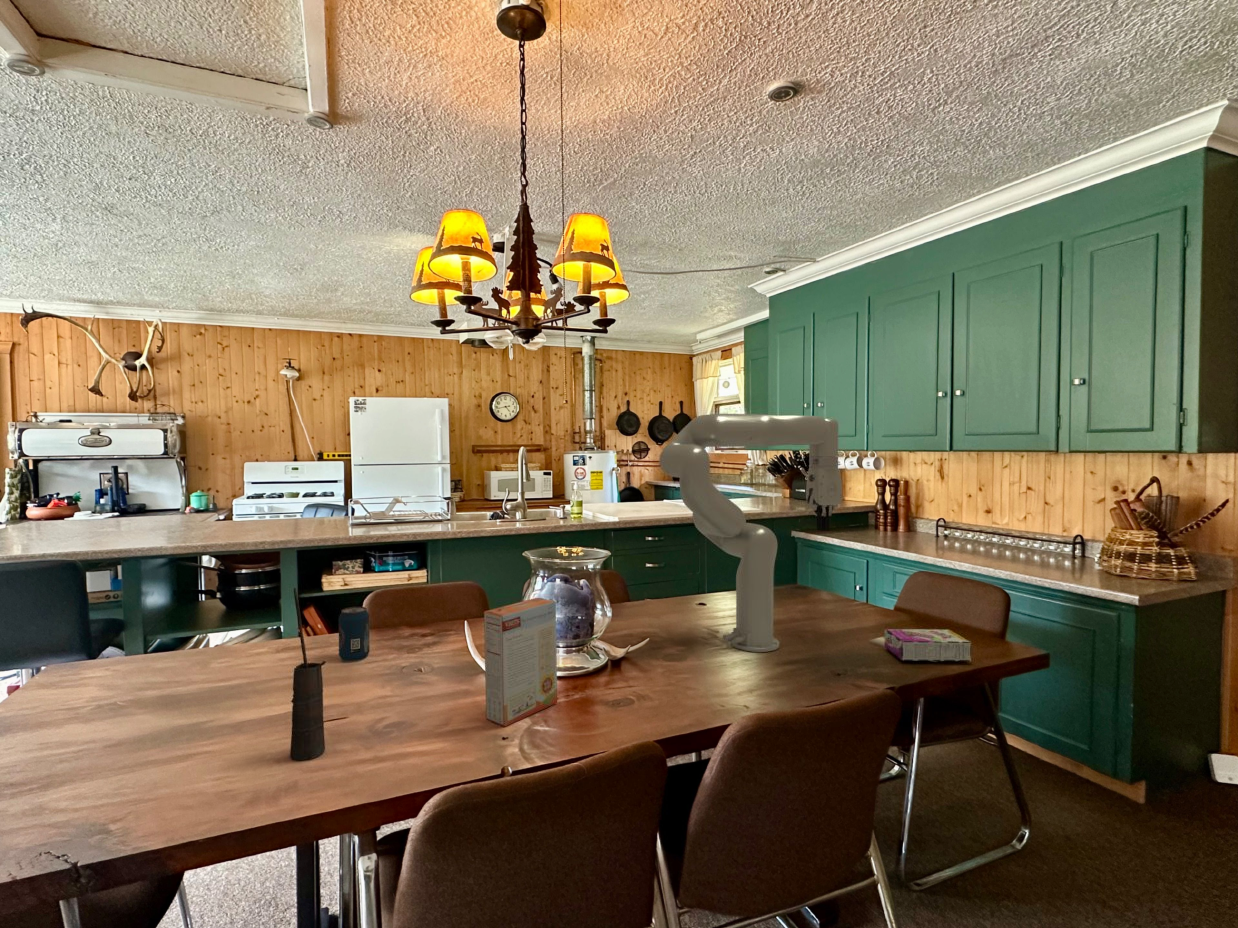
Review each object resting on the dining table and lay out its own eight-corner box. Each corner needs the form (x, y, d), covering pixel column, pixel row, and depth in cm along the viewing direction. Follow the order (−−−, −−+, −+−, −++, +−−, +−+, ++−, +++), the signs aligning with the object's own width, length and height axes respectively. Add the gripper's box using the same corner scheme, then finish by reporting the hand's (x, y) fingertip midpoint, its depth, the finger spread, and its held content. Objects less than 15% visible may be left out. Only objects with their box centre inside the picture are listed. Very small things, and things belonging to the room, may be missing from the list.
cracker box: (537, 696, 127) (537, 595, 127) (558, 703, 123) (558, 600, 123) (483, 719, 116) (482, 609, 116) (504, 728, 113) (503, 614, 112)
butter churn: (351, 736, 109) (350, 580, 109) (335, 763, 100) (333, 592, 99) (296, 740, 108) (294, 581, 107) (274, 768, 98) (272, 594, 98)
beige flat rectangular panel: (935, 662, 148) (935, 659, 148) (868, 642, 163) (868, 640, 163) (964, 652, 155) (964, 650, 155) (898, 634, 170) (898, 632, 170)
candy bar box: (883, 627, 157) (949, 628, 157) (883, 646, 158) (948, 648, 157) (902, 640, 146) (972, 641, 146) (902, 661, 146) (972, 662, 146)
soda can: (338, 655, 152) (337, 607, 152) (368, 651, 156) (367, 604, 155) (339, 664, 146) (339, 614, 146) (370, 660, 149) (370, 611, 149)
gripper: (816, 464, 161) (816, 533, 162) (852, 463, 169) (852, 529, 170) (794, 463, 168) (793, 530, 168) (830, 463, 176) (829, 527, 176)
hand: (823, 530), depth 169 cm, fingers closed
